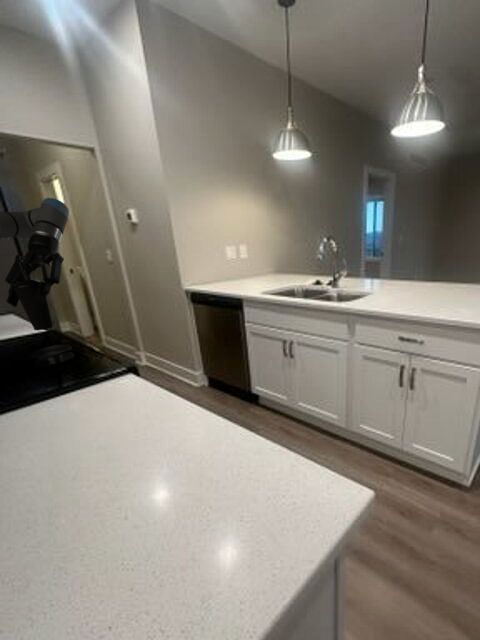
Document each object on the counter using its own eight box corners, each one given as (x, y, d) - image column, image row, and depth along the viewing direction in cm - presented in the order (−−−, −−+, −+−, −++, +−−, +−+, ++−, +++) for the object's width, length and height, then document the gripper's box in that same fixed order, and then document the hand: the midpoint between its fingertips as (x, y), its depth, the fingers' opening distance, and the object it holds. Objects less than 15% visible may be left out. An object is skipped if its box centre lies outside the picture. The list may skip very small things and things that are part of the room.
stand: (26, 367, 108) (21, 356, 106) (57, 354, 117) (54, 343, 116) (52, 370, 105) (48, 358, 103) (83, 356, 114) (79, 345, 113)
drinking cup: (40, 324, 110) (17, 260, 103) (63, 323, 110) (42, 259, 102) (22, 332, 103) (-4, 264, 96) (46, 331, 103) (22, 262, 95)
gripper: (84, 247, 112) (68, 308, 103) (23, 251, 113) (2, 311, 104) (68, 231, 105) (50, 294, 96) (3, 234, 106) (-21, 298, 97)
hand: (25, 303), depth 100 cm, fingers closed on drinking cup, 8 cm apart
